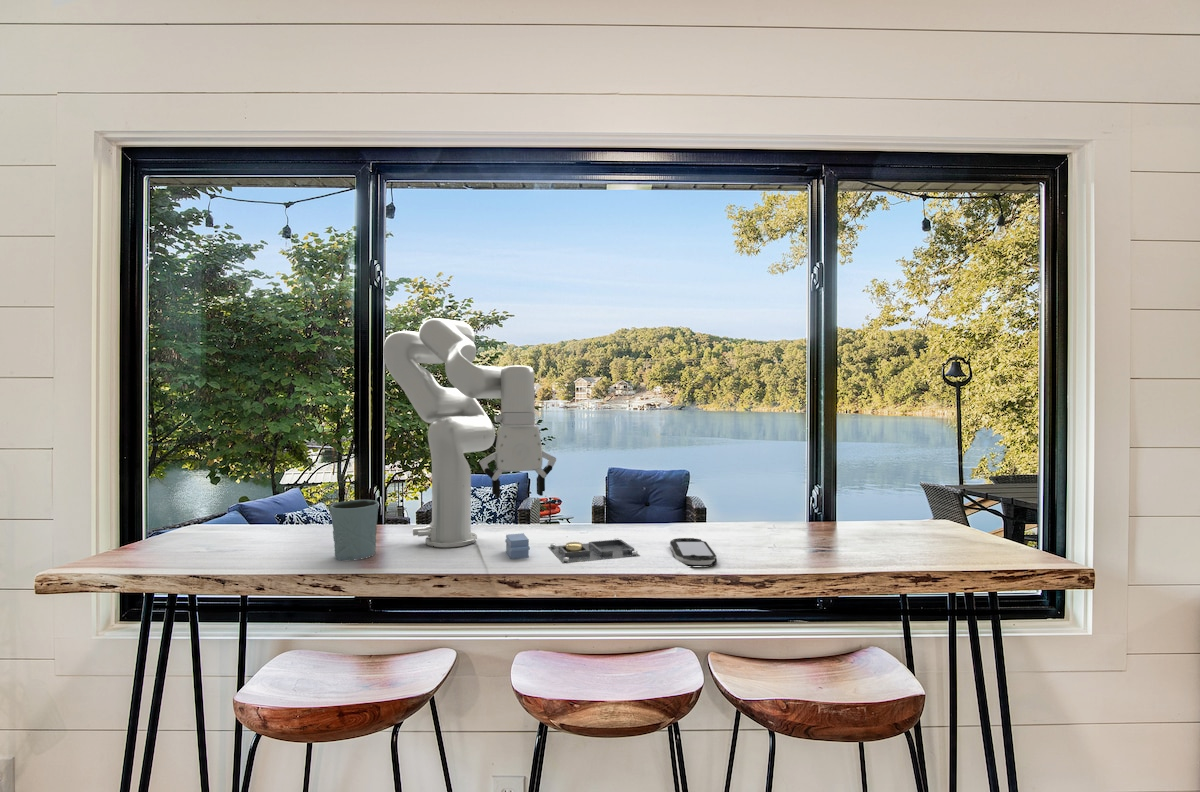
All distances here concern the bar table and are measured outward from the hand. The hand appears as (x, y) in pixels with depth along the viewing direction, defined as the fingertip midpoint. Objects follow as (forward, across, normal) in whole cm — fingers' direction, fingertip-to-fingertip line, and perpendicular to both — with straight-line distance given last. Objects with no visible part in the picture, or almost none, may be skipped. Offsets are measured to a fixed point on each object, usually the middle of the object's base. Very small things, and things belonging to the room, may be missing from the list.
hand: (518, 496), depth 128 cm
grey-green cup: (+14, -35, +15) cm, 41 cm away
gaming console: (+15, +38, -9) cm, 42 cm away
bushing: (+13, +12, -2) cm, 18 cm away
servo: (+14, 0, +1) cm, 14 cm away
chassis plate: (+14, +17, -2) cm, 22 cm away
